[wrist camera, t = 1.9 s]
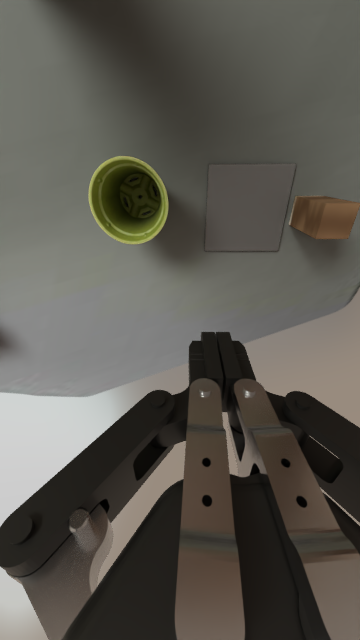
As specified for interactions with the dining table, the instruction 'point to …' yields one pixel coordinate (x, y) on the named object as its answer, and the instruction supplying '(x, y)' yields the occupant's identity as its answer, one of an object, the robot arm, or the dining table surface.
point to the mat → (246, 206)
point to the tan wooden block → (323, 216)
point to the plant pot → (128, 200)
